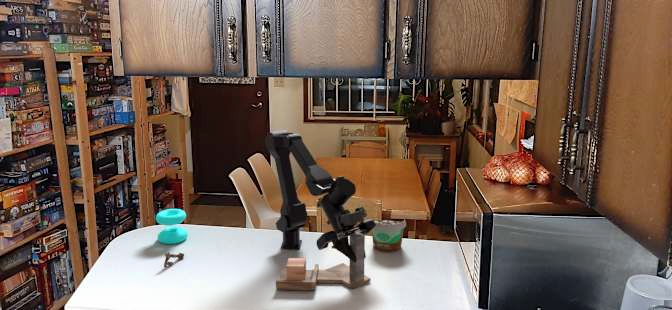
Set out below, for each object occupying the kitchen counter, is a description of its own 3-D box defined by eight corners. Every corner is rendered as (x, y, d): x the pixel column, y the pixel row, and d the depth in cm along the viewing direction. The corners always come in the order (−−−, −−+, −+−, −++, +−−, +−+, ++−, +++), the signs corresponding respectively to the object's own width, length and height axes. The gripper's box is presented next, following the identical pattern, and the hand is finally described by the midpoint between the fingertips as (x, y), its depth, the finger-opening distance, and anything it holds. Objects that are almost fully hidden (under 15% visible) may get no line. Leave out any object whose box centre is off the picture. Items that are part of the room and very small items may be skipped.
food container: (366, 252, 166) (367, 223, 163) (369, 244, 172) (369, 217, 169) (404, 255, 164) (405, 226, 161) (405, 247, 169) (406, 219, 167)
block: (289, 273, 149) (288, 258, 148) (306, 274, 149) (305, 258, 147) (286, 281, 144) (286, 266, 143) (304, 282, 144) (303, 266, 143)
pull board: (261, 280, 147) (258, 233, 144) (326, 256, 162) (326, 213, 158) (302, 310, 132) (301, 258, 128) (370, 281, 146) (371, 233, 143)
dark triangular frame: (160, 266, 154) (163, 251, 155) (177, 266, 162) (179, 252, 162) (164, 267, 154) (167, 252, 154) (181, 267, 161) (184, 253, 162)
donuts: (184, 206, 180) (186, 215, 171) (187, 232, 182) (188, 243, 173) (155, 209, 177) (155, 219, 167) (157, 236, 179) (158, 247, 170)
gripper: (322, 206, 137) (348, 257, 131) (372, 192, 148) (398, 239, 143) (305, 225, 145) (329, 274, 139) (354, 210, 156) (378, 255, 151)
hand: (360, 260), depth 143 cm, fingers closed on pull board, 3 cm apart
